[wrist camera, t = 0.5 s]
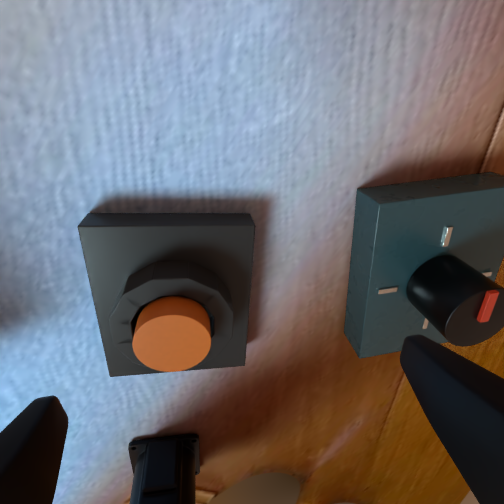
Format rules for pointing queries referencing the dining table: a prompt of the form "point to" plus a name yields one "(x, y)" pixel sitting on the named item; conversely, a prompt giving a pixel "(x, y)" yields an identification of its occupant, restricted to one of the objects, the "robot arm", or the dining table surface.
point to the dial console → (416, 251)
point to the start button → (172, 334)
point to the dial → (457, 300)
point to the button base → (169, 277)
